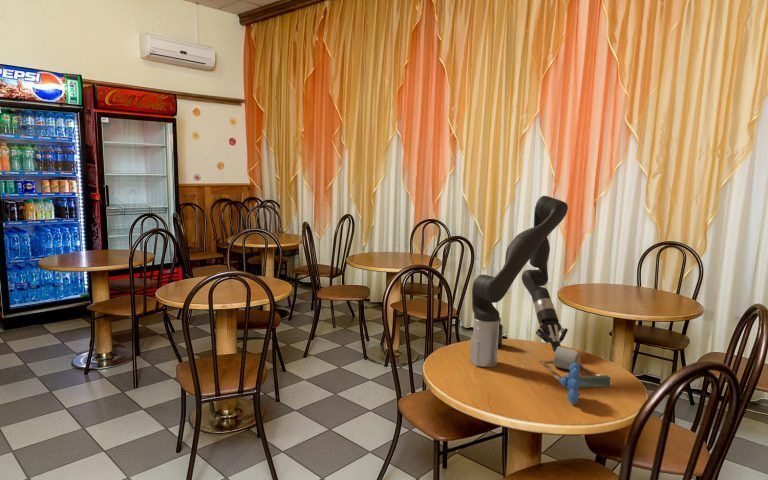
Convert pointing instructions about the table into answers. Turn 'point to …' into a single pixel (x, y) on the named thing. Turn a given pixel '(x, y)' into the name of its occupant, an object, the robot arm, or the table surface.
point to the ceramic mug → (566, 357)
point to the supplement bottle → (500, 334)
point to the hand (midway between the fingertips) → (558, 352)
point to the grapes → (572, 382)
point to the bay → (584, 377)
